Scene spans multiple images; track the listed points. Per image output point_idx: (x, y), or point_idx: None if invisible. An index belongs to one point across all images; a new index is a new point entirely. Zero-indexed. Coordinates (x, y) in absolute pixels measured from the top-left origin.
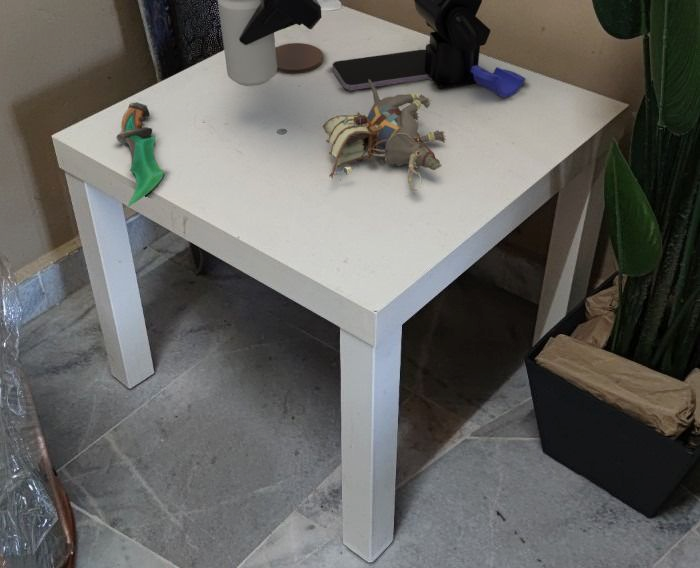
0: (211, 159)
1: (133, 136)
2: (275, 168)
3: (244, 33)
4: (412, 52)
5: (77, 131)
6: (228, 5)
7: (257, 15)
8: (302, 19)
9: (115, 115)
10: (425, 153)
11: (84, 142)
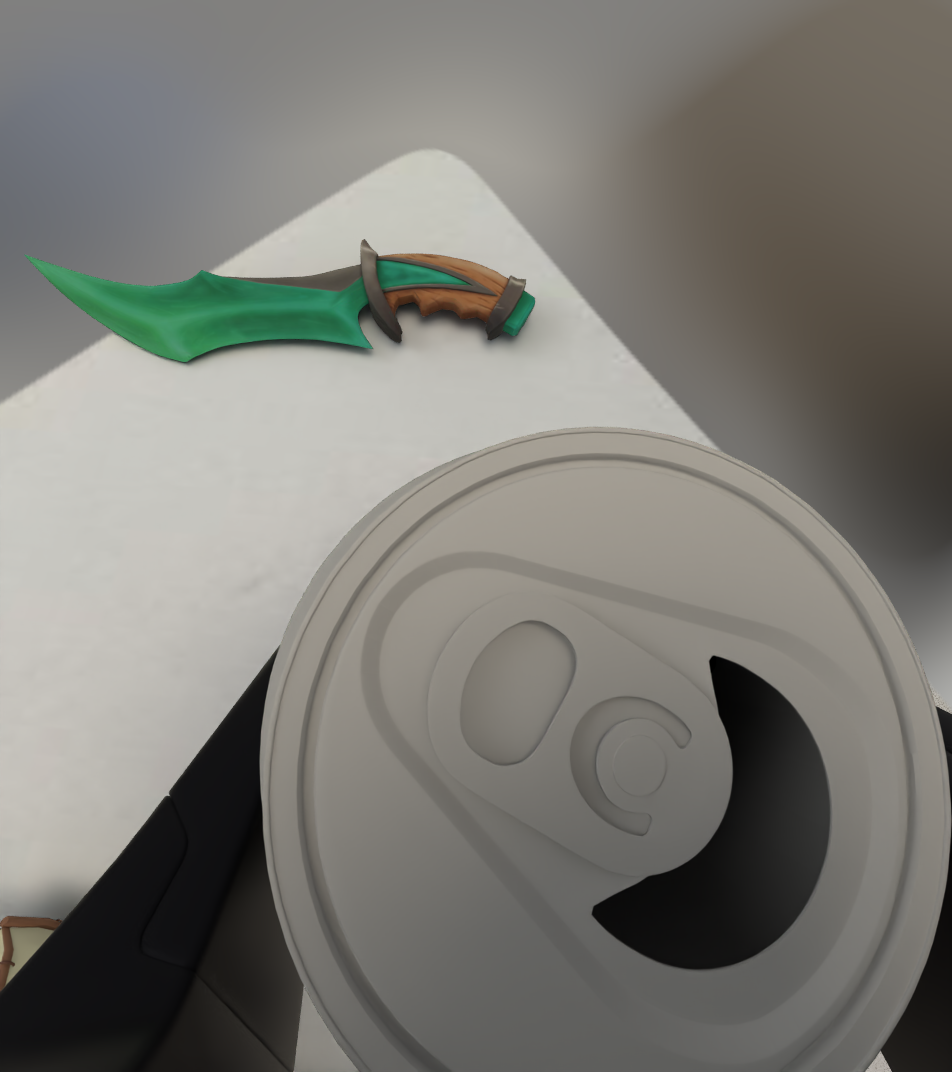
0: (232, 499)
1: (360, 284)
2: (125, 691)
3: (267, 665)
4: None
5: (462, 172)
6: (356, 531)
7: (112, 871)
8: None
9: (526, 264)
10: None
11: (404, 184)
